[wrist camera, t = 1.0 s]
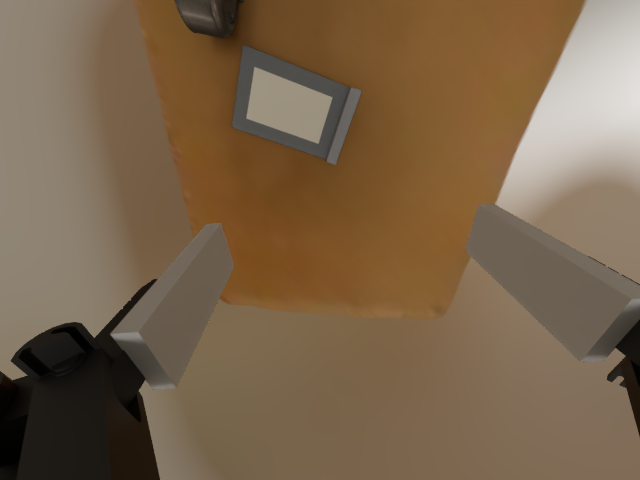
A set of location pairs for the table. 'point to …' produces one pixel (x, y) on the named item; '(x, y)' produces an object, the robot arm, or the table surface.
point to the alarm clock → (209, 16)
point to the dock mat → (292, 105)
